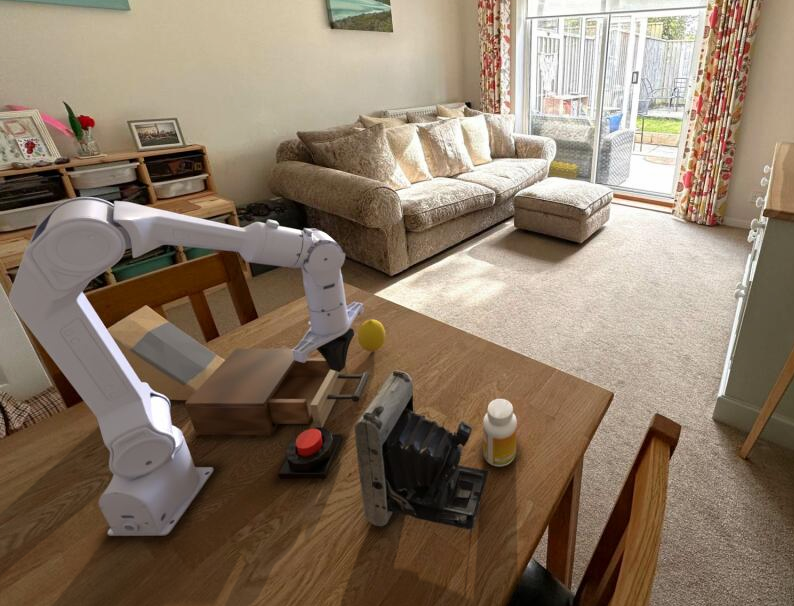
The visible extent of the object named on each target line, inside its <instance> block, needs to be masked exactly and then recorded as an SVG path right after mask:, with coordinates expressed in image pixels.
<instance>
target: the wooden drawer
mask: <svg viewBox="0 0 794 606" xmlns="http://www.w3.org/2000/svg"><path fill="white" fill-rule="evenodd" d="M308 358H309V359H308V360H307V361H306V362H305V363H303V362H299V361H296V362H295V364H294V365H293V366H292V368H291V369H290V371H289V372H288V374H287V375H286V376H285V378H284V379H283V381H282V382H281V384H280V385H279V387H278V388H277V389H276V391H275V392H274V394H273V395H272V397H271V398H270V399H269V401H268V402H267V406H268V410H269V414H270V418H271V421H272V424H278V425H280V424H281V425H285V424H288V425H290V424H291V425H292V424H293V425H309V424H310V422H311V420H312V421H313V426H314V427H323V428H324V425H325V424H326V421H327V419H328V417H329V415H330V413H331V411H332V409H333V407H334V405H335V403H336V401H337V400H351V401H352V402H354V403H358V402H360V400H361V398H362V395H363V394H364V391H365V389H366V386H367V384H368V382H369V379H370V377H371V374H370V372H368V371H364V372H363V373H361V374H360V373H348V369H347V363H345V367H344V368H343V369H342V370H341V371H340V372H337V371H334V370H331V369H330V367H329V365H328V363H327V362H326V360H325V358H324V357H308ZM347 380H359V381H358V383H357V385H356V388H355V390H354V392H353V394H340V393H341V391H342V388H343V387H344V385H345V383H346V381H347Z"/></svg>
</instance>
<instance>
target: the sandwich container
mask: <svg viewBox="0 0 794 606" xmlns="http://www.w3.org/2000/svg"><path fill="white" fill-rule="evenodd" d="M106 329H107V330H108V332H109V334H110V335H111V337H112V338H113V340H114V341H115V343H116V344H117V346H118V347H119V349H120V350H121V352H122V354H123V355H124V357H125V358H126V360H127V361H128V363H129V364H130V366H131V367H132V369H133V370H134V372H135V373H136V375H137V377H138V378H139V380H140V381H141V382H145V383H148V385H149V386H150V388H151V389H152V390H153V391H155V392H157V393H160V394H163V395H164V396H166V397H167V398H168V399H169V401H187V400H188V399H189V398H190V397H191V396H192V395H193V394H194V393H195V392H196V391H197V390H198V389H199V388H200V387H201V385H202V384H203V383H204V382H205V381H206V380H207V379H208V378H209V377H210V376H211V375H212V374H213V373H214V372H215V370H216V369H217V368H218V367H219V366H220V365H221V364H222V363H223V362H224V361H225V360H226V359H224V358H222V357H220V356H219V355H217V354H216V353H215V352H213V351H212V350H210V348H209V349H208V348H207V347H205V346H204V345H203V344H202V343H200V342H198V341H197V340H196V339H194V338H193V337H192V336H190V335H188V334H187V333H185V332H184V331H183V330H181V329H180V328H178V327H177V326H175V325H174V324H173V323H171V322H170V321H169V320H167V319H166V318H164V316H161V315H160V314H159V313H157V312H156V311H155V310H154V309H152V308H151V307H149V305H144V306H142V307H141V308H139V309H137V310H135V311H134V312H132V313H130V314H129V315H127V316H125V317H124V318H122V319H121V320H119V321H117V322H116V323H114V324H113V325H111V326H109V327H108V328H106Z"/></svg>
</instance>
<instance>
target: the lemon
mask: <svg viewBox="0 0 794 606" xmlns="http://www.w3.org/2000/svg"><path fill="white" fill-rule="evenodd" d="M357 336H358V339H357V340H358V343H359V345H360V346H361V348H362V349H363V350H364V351H367V352H376V351H377V350H380V349H381V348H382V347H383V345H384V344H385V342H386V341H385V340H386V330H385V327H384V325H383V324H382V323H381V322H380V321H379V320H377V319H367V320H366V321H364V322H363V323H362V324H361V325H360V326H359V329H358V335H357Z"/></svg>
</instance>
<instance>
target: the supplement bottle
mask: <svg viewBox="0 0 794 606" xmlns="http://www.w3.org/2000/svg"><path fill="white" fill-rule="evenodd" d="M482 421H483V422H482V451H483V452H482V454H483V457H484V459H485V461H486V462H487V463H488V464H490V466H494V467H498V468H499V467H505V466H508V465H510V464H511V463H512V462H513V461H514V460H515V457H516V454H517V433H518V432H517V431H518V421H517V416H516V415H515V414H514V407H513V405H512V403H511V402H510V401H509V400H508V399H505V398H496V399H493V400H492V401H490V402H489V403H488V406H487V412H486V413H485V415H484V417H483V420H482Z"/></svg>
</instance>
